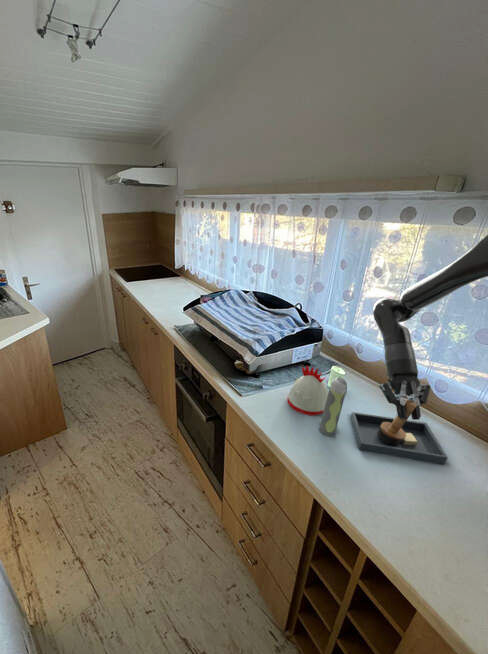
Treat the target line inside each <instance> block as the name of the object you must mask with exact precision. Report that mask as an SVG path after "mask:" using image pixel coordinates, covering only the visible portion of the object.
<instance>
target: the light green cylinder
mask: <svg viewBox="0 0 488 654" xmlns="http://www.w3.org/2000/svg"><path fill="white" fill-rule="evenodd" d="M345 375H346V371H345V370H344V369H342V368H341V367H339V366H336V365H332V366H331V369H330V373H329V377H328V382H327V387H328V388H330V387H331V383H332V380H333V379H335V378H339V377H340V378H343V379H344V380H345Z"/></svg>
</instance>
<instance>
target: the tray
mask: <svg viewBox="0 0 488 654" xmlns="http://www.w3.org/2000/svg"><path fill="white" fill-rule="evenodd" d="M394 419H395V417H389V416H382V415H375V414H368V413H361V412H354V411H351V413H350V417H349V420H350V423H351V426H352V427H351V428H352V430H353V434H354V436H355V440H356V444H357V447H358V450H359V451H363V452H369V453H375V454H381V455H387V456H392V457H397V458H398V457H399V458H403V459H404V458H405V459H410V460H416V461H420V462H427V463H433V464H439V465H445V463H446V462H447V460H448V456H447V453H445V451H444V449H443V448H442V446H441V445H440V443H439V441H438V439H437V438H436V436H435V435H434V433H433V431H432V429H431V428H430V426H429V425H428V423H427V422H422V421H416V420H409V419H407V420H406V422H405V423H404V425H403V426H402V429H403V430H404V432H405V433H411V434H412V435H413V436H414V437H415V439H416V440H417V441H418V442H417V444H416V445H404V444H403V443H402V441H401V443H400V444H399V445H390V444H388V443H386V442H384V441H383V440H381V439H380V438H379V436H378V434H377V431H378V430H379V428H380V425H381V424H382V423H383V422H391V423H392V422H393V420H394Z"/></svg>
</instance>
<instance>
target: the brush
mask: <svg viewBox="0 0 488 654" xmlns="http://www.w3.org/2000/svg"><path fill="white" fill-rule="evenodd" d="M404 405H405V408H406V414H407V419H400V418H399V417H398V415H396V416H395V417H394V418H395V419H394V420H393V422H392V423H391V422H383V423H382V424H381V425H380V428H379V430H378V431H377V434H378V436H379V438H380V439H381V440H383V441H384V442H386V443H388V444H390V445H399V444H400V443H401V441H402V440H403V439H404V438H405V437H406V433H405V432H404V430H403V429H402V426H403V425H404V423H405V422H406V420H409V418H410V416H412V415H411V413H412V412H413V410H414V409H415V408H416V406H417V404H416V403H415V402H413V401H411V400H409V399H407V400H406V401H405V402H404Z"/></svg>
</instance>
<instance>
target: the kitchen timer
mask: <svg viewBox="0 0 488 654" xmlns="http://www.w3.org/2000/svg"><path fill="white" fill-rule="evenodd" d="M301 371H302V376H300V377H299V378H297V379H295V380H294V383H293V384H292V385H291V388H290V389H289V392H288V395H287V404H288V405H289V407H290V408H291V409H293V410H294V411H295V412H297V413H300V414H302V415H307V416H313V417H315V416H318V415H321V414H323V411H324V407H325V404H326V400H327V396H328V393H329V390H328V386H327V385H326V383H325V381H324V380H325V379H326V376H324V377H323V378H321V376H322V375H323V373H322V372H320V373H319V368H316V369H315V370H314V366H312V367H311V369H310V367H309V365H306V366H305V367H304V366H302V367H301Z"/></svg>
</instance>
